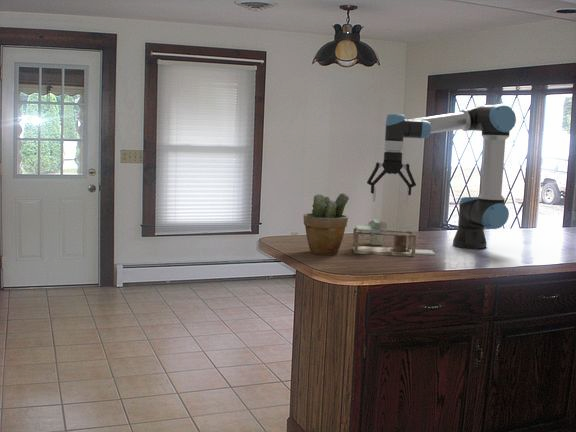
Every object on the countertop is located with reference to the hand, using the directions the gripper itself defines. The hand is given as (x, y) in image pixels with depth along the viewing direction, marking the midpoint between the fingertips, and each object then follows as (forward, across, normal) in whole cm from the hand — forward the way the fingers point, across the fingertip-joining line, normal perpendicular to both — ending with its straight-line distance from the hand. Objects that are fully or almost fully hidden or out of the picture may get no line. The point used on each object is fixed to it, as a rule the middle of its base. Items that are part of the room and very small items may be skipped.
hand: (390, 202), depth 291 cm
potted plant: (+22, +27, +8) cm, 36 cm away
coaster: (+21, -16, -4) cm, 27 cm away
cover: (+12, +9, 0) cm, 15 cm away
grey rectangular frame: (+21, +2, 0) cm, 21 cm away
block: (+22, -5, 0) cm, 22 cm away
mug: (+22, +4, -22) cm, 31 cm away
